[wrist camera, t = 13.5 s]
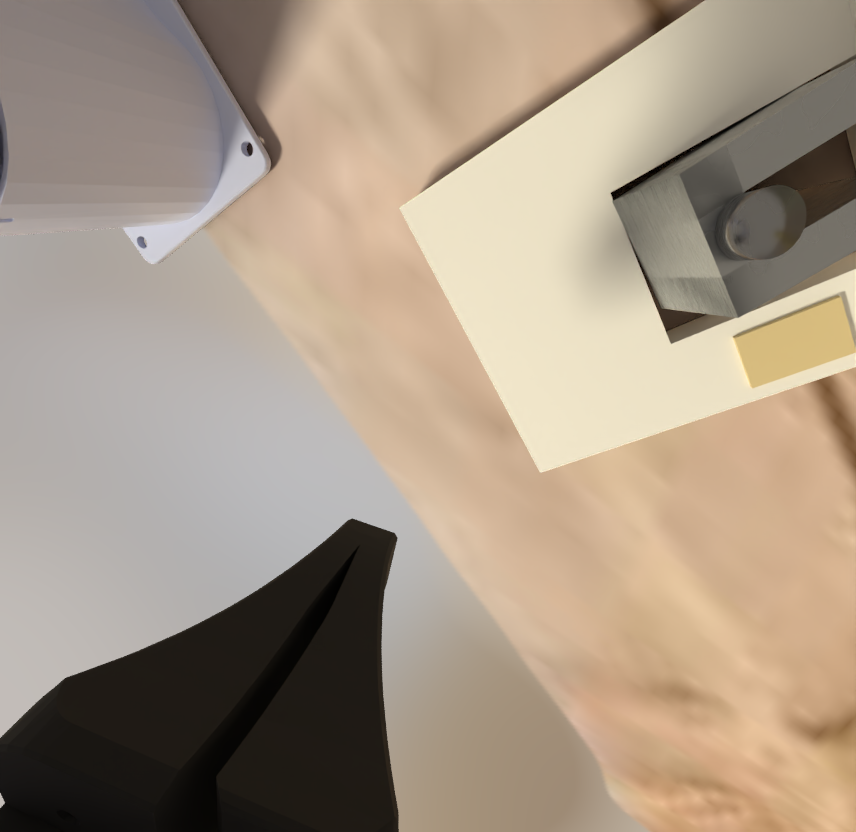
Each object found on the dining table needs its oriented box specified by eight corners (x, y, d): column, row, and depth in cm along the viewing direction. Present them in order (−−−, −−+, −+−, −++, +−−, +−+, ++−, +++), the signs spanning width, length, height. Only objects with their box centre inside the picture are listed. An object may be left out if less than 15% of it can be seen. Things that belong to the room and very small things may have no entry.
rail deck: (410, 207, 18) (390, 208, 16) (844, -84, 12) (908, -146, 10) (541, 455, 21) (539, 485, 19) (933, 317, 15) (996, 337, 13)
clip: (612, 201, 15) (698, 166, 10) (758, 107, 14) (922, 25, 9) (661, 308, 16) (760, 320, 11) (800, 226, 15) (965, 204, 11)
